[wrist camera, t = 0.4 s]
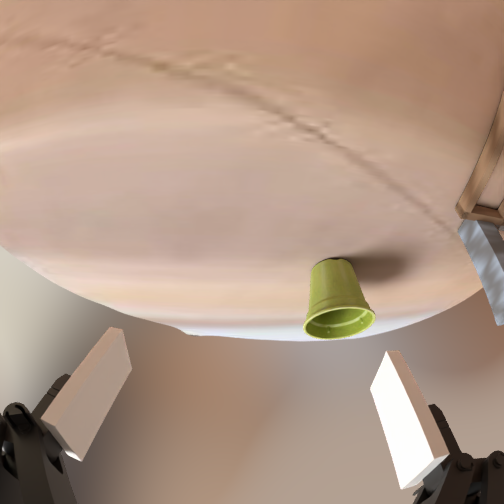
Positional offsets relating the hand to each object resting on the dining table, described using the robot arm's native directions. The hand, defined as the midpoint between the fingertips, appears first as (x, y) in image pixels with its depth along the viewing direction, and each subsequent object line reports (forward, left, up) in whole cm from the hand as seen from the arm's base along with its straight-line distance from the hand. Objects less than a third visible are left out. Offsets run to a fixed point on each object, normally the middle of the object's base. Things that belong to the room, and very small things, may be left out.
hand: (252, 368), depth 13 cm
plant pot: (+18, +11, -20) cm, 29 cm away
